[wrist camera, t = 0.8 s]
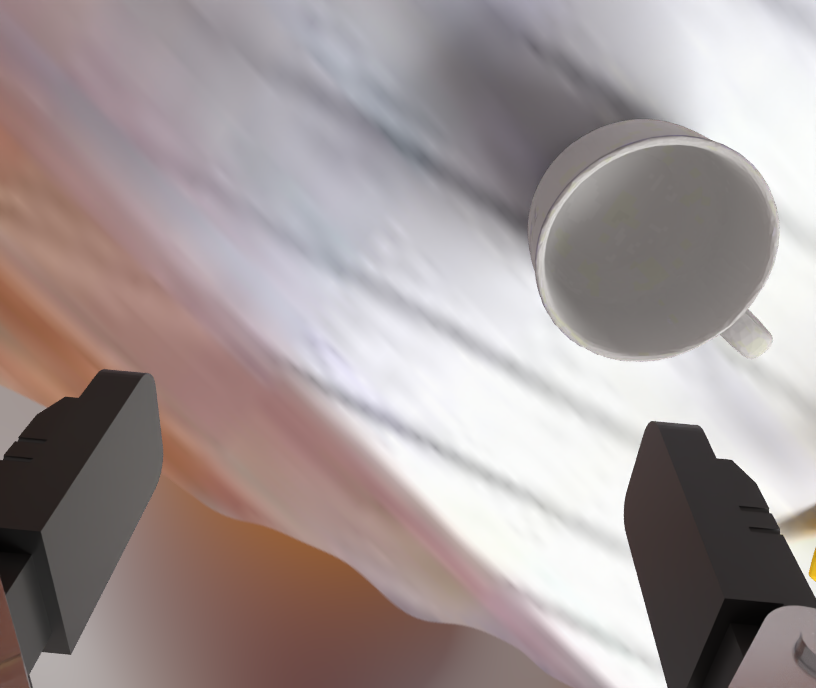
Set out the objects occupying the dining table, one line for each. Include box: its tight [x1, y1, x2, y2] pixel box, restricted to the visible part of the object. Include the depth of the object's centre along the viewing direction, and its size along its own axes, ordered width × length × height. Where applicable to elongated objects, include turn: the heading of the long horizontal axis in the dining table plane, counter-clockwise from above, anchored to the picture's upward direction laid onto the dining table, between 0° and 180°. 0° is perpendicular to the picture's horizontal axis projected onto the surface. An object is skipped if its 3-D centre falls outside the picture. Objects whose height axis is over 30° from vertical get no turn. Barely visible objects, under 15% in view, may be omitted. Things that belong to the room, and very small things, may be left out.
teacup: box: [528, 119, 779, 362], centre depth 37 cm, size 14×11×8 cm
